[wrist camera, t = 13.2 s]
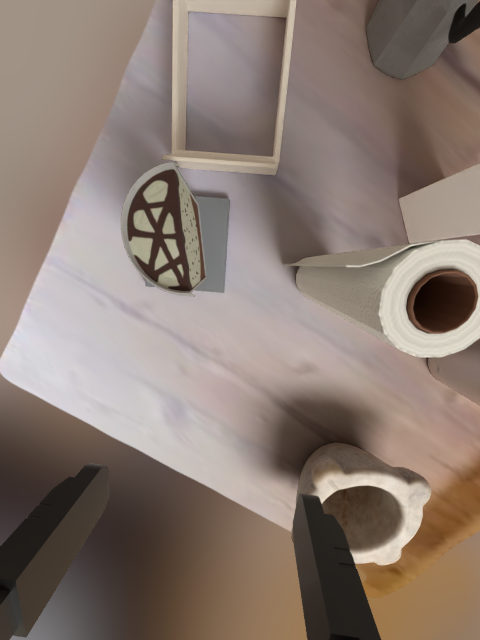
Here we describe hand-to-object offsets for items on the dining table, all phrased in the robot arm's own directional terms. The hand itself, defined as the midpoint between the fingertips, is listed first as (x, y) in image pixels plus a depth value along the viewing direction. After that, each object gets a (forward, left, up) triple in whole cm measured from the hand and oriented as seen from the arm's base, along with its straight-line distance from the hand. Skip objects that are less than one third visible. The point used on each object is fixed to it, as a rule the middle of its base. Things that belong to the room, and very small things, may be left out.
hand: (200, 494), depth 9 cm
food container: (+8, -11, -25) cm, 28 cm away
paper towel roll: (-10, -9, -26) cm, 29 cm away
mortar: (-19, +23, -26) cm, 39 cm away
